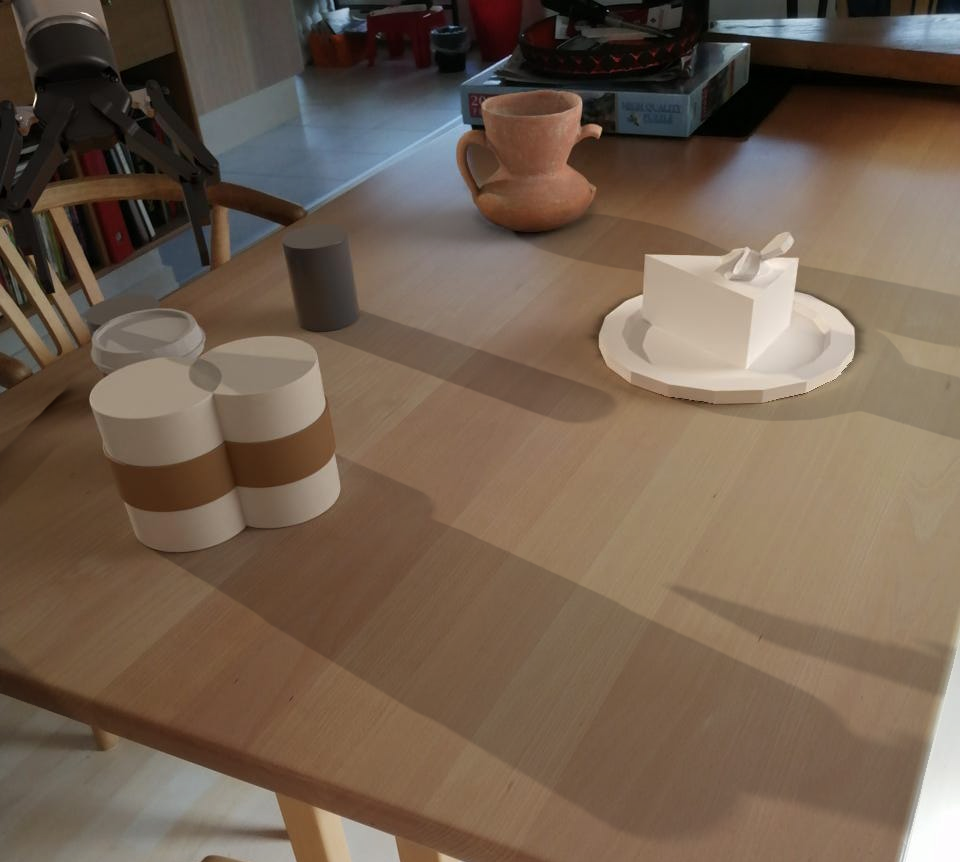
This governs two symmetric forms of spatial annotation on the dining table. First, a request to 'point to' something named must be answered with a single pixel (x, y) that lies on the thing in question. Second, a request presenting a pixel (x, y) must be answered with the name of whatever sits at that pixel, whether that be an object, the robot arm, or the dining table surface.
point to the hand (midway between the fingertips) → (127, 273)
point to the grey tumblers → (312, 274)
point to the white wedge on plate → (726, 329)
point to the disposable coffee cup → (146, 338)
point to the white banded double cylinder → (219, 441)
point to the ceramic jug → (530, 160)
